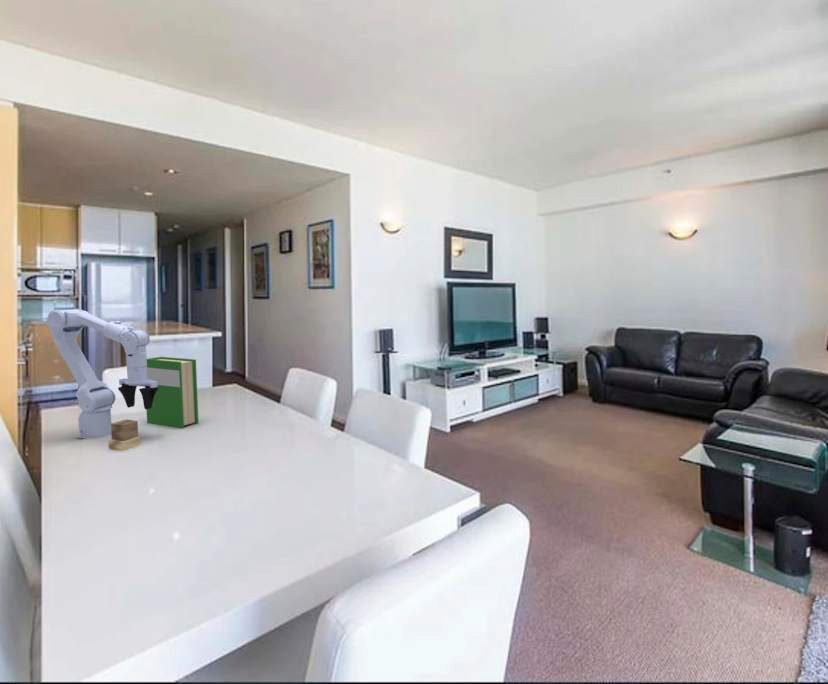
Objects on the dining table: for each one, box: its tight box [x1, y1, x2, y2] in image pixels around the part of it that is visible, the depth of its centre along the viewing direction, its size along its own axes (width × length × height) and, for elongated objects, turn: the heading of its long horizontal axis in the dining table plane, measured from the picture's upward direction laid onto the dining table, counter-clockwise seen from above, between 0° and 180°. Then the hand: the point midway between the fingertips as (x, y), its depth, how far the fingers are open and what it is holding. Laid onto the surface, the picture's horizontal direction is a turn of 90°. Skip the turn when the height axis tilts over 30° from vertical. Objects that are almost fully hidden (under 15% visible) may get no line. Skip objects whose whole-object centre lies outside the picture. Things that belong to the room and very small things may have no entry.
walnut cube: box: [110, 419, 139, 441], centre depth 147 cm, size 5×5×5 cm
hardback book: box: [145, 356, 199, 429], centre depth 176 cm, size 18×7×24 cm, turn 67°
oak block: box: [107, 435, 142, 452], centre depth 147 cm, size 6×6×3 cm
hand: (139, 407), depth 158 cm, fingers open, 7 cm apart
